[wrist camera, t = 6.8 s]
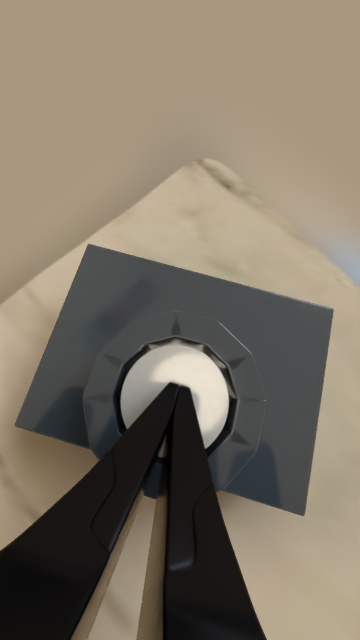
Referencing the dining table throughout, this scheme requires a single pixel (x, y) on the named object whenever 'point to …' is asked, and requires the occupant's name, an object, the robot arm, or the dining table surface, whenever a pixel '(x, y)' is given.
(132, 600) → the dining table surface
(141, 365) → the white push button
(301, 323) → the grey push button box
